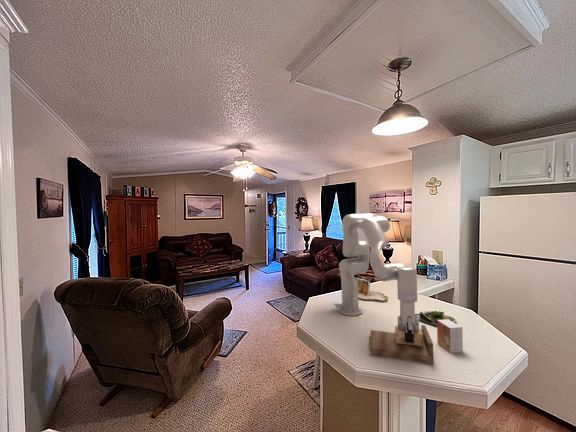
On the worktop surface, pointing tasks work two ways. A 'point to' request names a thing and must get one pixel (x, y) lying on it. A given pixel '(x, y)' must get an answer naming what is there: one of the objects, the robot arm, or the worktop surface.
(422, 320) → the salad plate
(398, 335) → the salt and pepper set
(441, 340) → the small box
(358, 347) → the worktop surface
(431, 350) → the walnut shelf
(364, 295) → the religious ornament
